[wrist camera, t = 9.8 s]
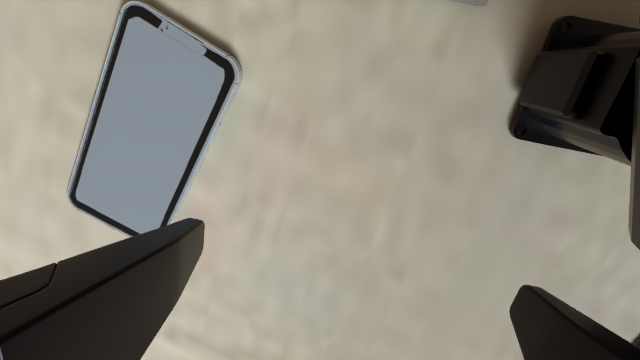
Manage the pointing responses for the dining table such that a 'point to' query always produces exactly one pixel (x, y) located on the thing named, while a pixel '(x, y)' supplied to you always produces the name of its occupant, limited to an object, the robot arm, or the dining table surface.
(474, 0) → the mat
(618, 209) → the dining table surface
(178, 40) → the smartphone
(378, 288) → the dining table surface
